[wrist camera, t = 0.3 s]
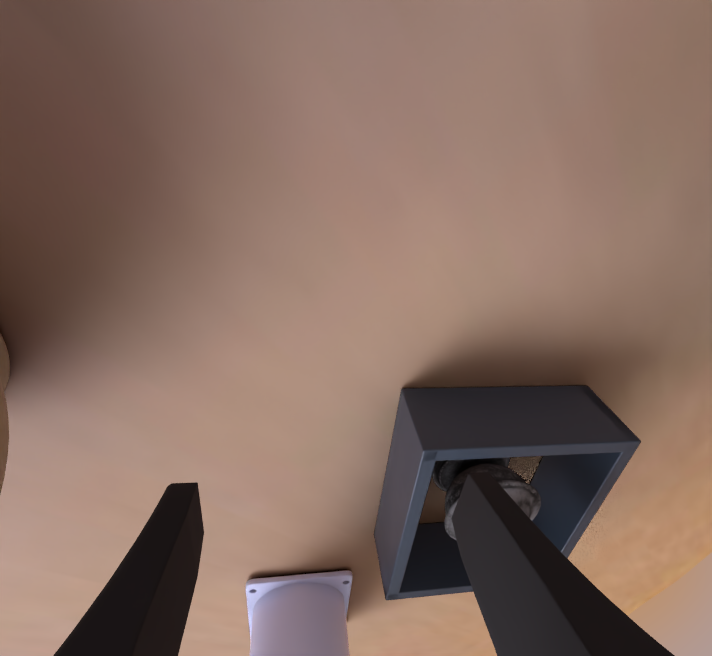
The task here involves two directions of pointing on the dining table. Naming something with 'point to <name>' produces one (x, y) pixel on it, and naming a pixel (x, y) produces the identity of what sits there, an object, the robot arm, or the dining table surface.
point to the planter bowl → (3, 408)
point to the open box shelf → (493, 440)
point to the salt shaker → (526, 496)
